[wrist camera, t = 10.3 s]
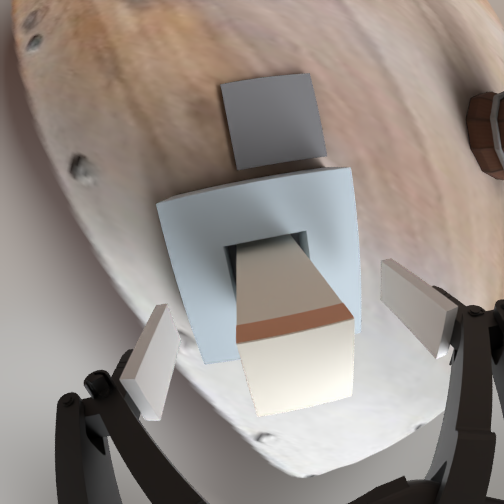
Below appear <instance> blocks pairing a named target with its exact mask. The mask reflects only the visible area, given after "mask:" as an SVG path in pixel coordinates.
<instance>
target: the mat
mask: <svg viewBox="0 0 504 504" xmlns="http://www.w3.org/2000/svg"><path fill="white" fill-rule="evenodd" d="M220 85H221V90H222V95H223V100H224V105H225V110H226V115H227V120H228V125H229V131H230V136H231V141H232V146H233V151H234V156H235V161H236V166H237V170H242V169H247V168H253V167H258V166H264V165H270V164H276V163H282V162H289V161H296V160H303V159H310V158H317V157H325V156H327V153H326V147H325V142H324V136H323V131H322V126H321V121H320V116H319V111H318V107H317V102H316V98H315V93H314V89H313V85H312V81H311V77H310V73H307V74H292V75H281V76H271V77H263V78H255V79H249V80H242V81H236V82H230V83H225V84H220Z"/></svg>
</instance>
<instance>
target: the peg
mask: <svg viewBox="0 0 504 504" xmlns="http://www.w3.org/2000/svg"><path fill="white" fill-rule="evenodd" d="M236 313H237V325H236V344H237V348H238V352H239V355H240V359H241V362H242V366H243V369H244V373H245V376H246V380H247V383H248V387H249V390H250V393H251V397H252V400H253V403H254V407H255V410H256V413H257V416H258V417H262V416H268V415H274V414H279V413H284V412H290V411H294V410H299V409H304V408H308V407H312V406H316V405H320V404H324V403H328V402H332V401H335V400H339V399H343V398H346V397H349V396H352V387H353V370H354V334H355V319H354V316H353V315H352V314H351V312H350V311H349V310H348V308H347V307H346V306H345V304H344V303H342V301H341V300H340V299H339V297H338V296H337V295H336V293H335V292H334V291H333V289H332V288H331V287H330V285H329V284H328V283H327V281H326V280H325V279H324V277H323V276H322V275H321V273H320V272H319V271H318V270H317V268H316V267H315V266H314V264H313V263H312V262H311V260H310V259H309V258H308V257H307V255H306V254H305V253H304V251H303V250H302V249H301V248H300V246H299V245H298V244H297V243H296V241H295V240H294V239H293V238H292V236H291V235H290V234H286V235H280V236H275V237H270V238H265V239H260V240H254V241H249V242H244V243H239V244H237V261H236Z"/></svg>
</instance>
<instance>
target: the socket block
mask: <svg viewBox="0 0 504 504" xmlns="http://www.w3.org/2000/svg"><path fill="white" fill-rule="evenodd" d="M156 206H157V210H158V215H159V219H160V223H161V227H162V231H163V234H164V238H165V242H166V246H167V250H168V253H169V257H170V260H171V264H172V267H173V271H174V274H175V278H176V281H177V284H178V288H179V291H180V294H181V297H182V300H183V304H184V307H185V310H186V313H187V316H188V319H189V322H190V325H191V328H192V331H193V334H194V336H195V339H196V342H197V345H198V348H199V350H200V353H201V356H202V359H203V361H204V364H212V363H219V362H226V361H233V360H239V359H240V355H239V352H238V348H237V344H236V325H237V313H236V261H237V244H239V243H244V242H249V241H254V240H260V239H265V238H270V237H275V236H280V235H286V234H290V235H291V236H292V238H293V239H294V240H295V241H296V243H297V244H298V245H299V246H300V248H301V249H302V250H303V251H304V253H305V254H306V255H307V257H308V258H309V259H310V260H311V262H312V263H313V264H314V266H315V267H316V268H317V270H318V271H319V272H320V273H321V275H322V276H323V277H324V279H325V280H326V281H327V283H328V284H329V285H330V287H331V288H332V289H333V291H334V292H335V293H336V295H337V296H338V297H339V299H340V300H341V301H342V303H344V304H345V306H346V307H347V308H348V310H349V311H350V312H351V314H352V315H353V316H354V319H355V334H357V333H360V332H361V270H360V251H359V236H358V224H357V213H356V204H355V195H354V187H353V179H352V172H351V167H324V168H316V169H309V170H302V171H296V172H289V173H283V174H277V175H271V176H266V177H260V178H254V179H249V180H244V181H239V182H234V183H229V184H224V185H219V186H214V187H210V188H205V189H200V190H196V191H192V192H187V193H183V194H179V195H175V196H172V197H170V198H168V199H165V200H163V201H161V202H159V203H156Z"/></svg>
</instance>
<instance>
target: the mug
mask: <svg viewBox="0 0 504 504" xmlns="http://www.w3.org/2000/svg"><path fill="white" fill-rule="evenodd" d="M466 121H467V127H468V132H469V139H470V146H471V150H472V152H473V153H474V155H475V157H476V159H477V161H478V163H479V165H480V167H481V169H482V171H483V172H484V173H486V174H488V175H490V176H492V177H494V178H496V179H500V180H504V91H503V92H501V93H499V94H497V93H494V92H486V93H482V94H480V95H477V96H475V97H472V98H471V101H470V105H469V110H468V114H467V118H466Z"/></svg>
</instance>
